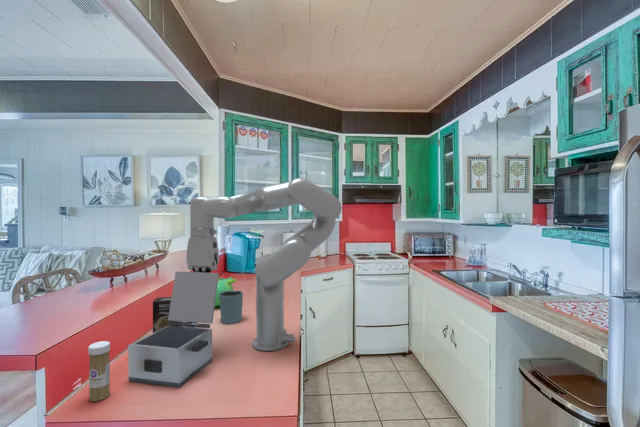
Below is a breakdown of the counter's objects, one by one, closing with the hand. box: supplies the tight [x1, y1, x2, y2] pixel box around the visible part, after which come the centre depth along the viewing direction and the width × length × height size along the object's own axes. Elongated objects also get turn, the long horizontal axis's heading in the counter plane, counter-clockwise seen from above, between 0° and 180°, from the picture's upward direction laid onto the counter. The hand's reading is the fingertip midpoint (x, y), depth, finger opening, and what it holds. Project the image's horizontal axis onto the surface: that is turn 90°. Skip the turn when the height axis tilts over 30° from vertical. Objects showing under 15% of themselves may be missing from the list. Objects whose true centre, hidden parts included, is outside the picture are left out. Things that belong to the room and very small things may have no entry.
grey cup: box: [219, 290, 244, 325], centre depth 140 cm, size 10×10×12 cm
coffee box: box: [152, 296, 183, 333], centre depth 115 cm, size 9×6×16 cm
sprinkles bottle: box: [87, 340, 111, 402], centre depth 82 cm, size 5×5×14 cm
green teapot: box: [215, 276, 237, 307], centre depth 163 cm, size 18×17×15 cm
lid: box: [168, 271, 220, 329], centre depth 105 cm, size 16×17×2 cm
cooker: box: [127, 325, 213, 389], centre depth 95 cm, size 20×16×10 cm
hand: (202, 286), depth 111 cm, fingers closed
